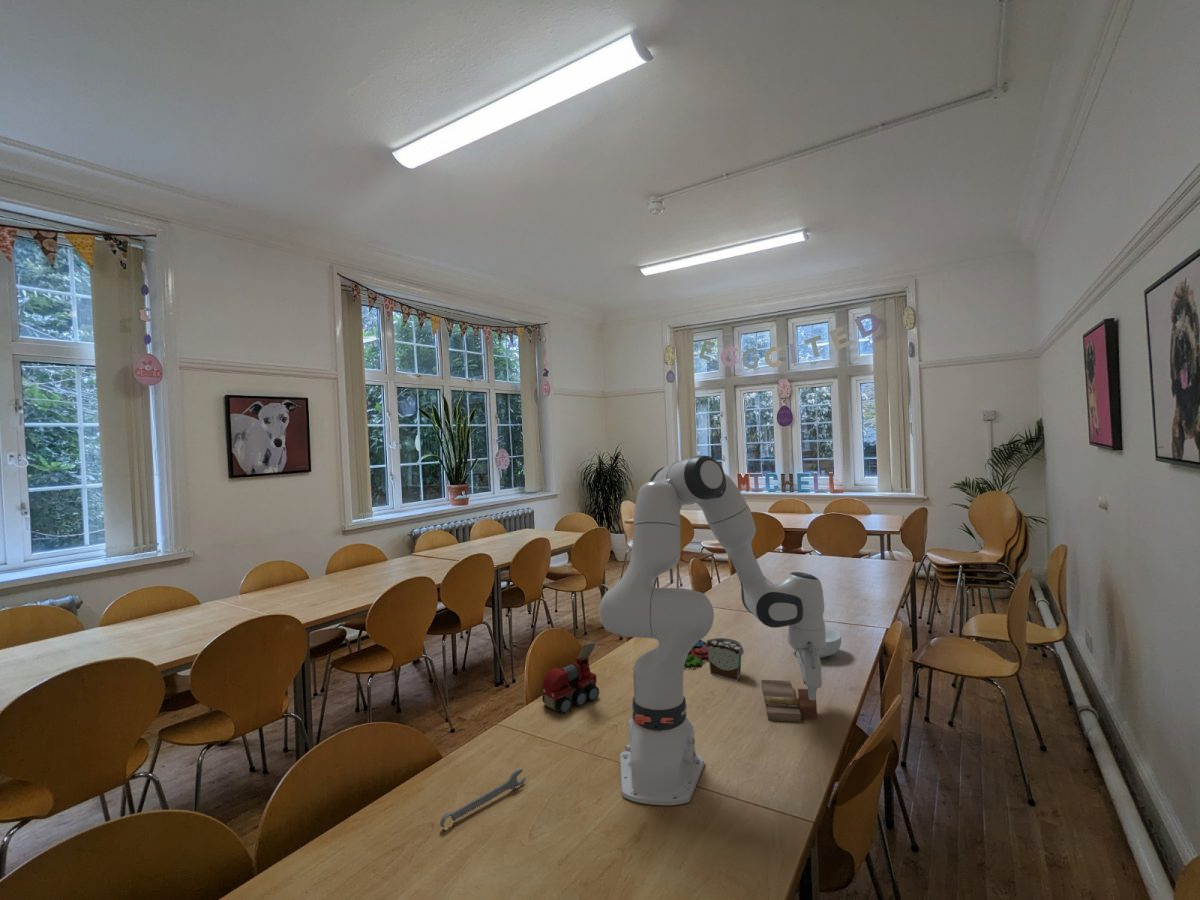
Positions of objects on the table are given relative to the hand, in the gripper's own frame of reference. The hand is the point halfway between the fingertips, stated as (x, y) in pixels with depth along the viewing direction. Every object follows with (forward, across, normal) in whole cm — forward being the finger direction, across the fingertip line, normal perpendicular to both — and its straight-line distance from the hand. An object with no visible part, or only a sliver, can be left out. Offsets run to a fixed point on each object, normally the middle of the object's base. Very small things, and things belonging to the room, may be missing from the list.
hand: (809, 691), depth 141 cm
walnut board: (+7, +7, +7) cm, 12 cm away
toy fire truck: (+7, -1, +62) cm, 63 cm away
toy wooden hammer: (+7, +1, +5) cm, 8 cm away
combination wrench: (+8, -46, +68) cm, 83 cm away
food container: (+6, +25, +20) cm, 33 cm away
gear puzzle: (+7, +36, +35) cm, 50 cm away
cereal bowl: (+6, +44, -7) cm, 45 cm away
